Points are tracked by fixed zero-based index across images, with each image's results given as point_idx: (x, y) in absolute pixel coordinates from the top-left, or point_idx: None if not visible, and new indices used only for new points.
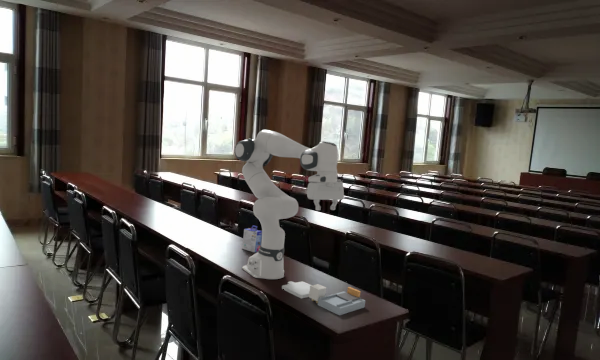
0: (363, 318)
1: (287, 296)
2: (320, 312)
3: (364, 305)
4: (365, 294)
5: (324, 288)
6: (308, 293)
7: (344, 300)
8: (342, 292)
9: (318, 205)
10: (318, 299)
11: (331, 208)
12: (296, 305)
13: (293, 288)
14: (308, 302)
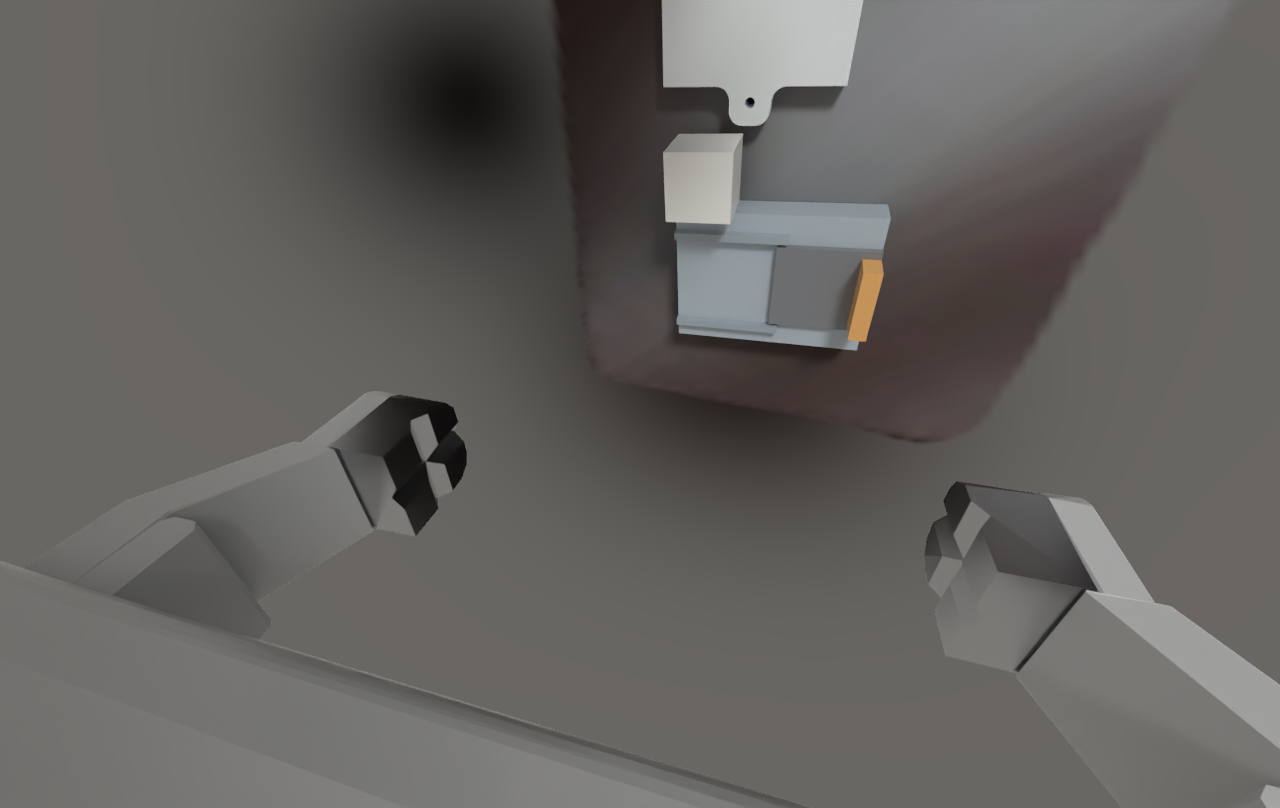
0: (745, 377)
1: (615, 7)
2: (638, 258)
3: None
4: (1068, 243)
5: (713, 222)
6: (719, 84)
7: (767, 297)
8: (863, 227)
9: (326, 535)
10: None
11: (951, 536)
12: (588, 146)
13: None
14: None
